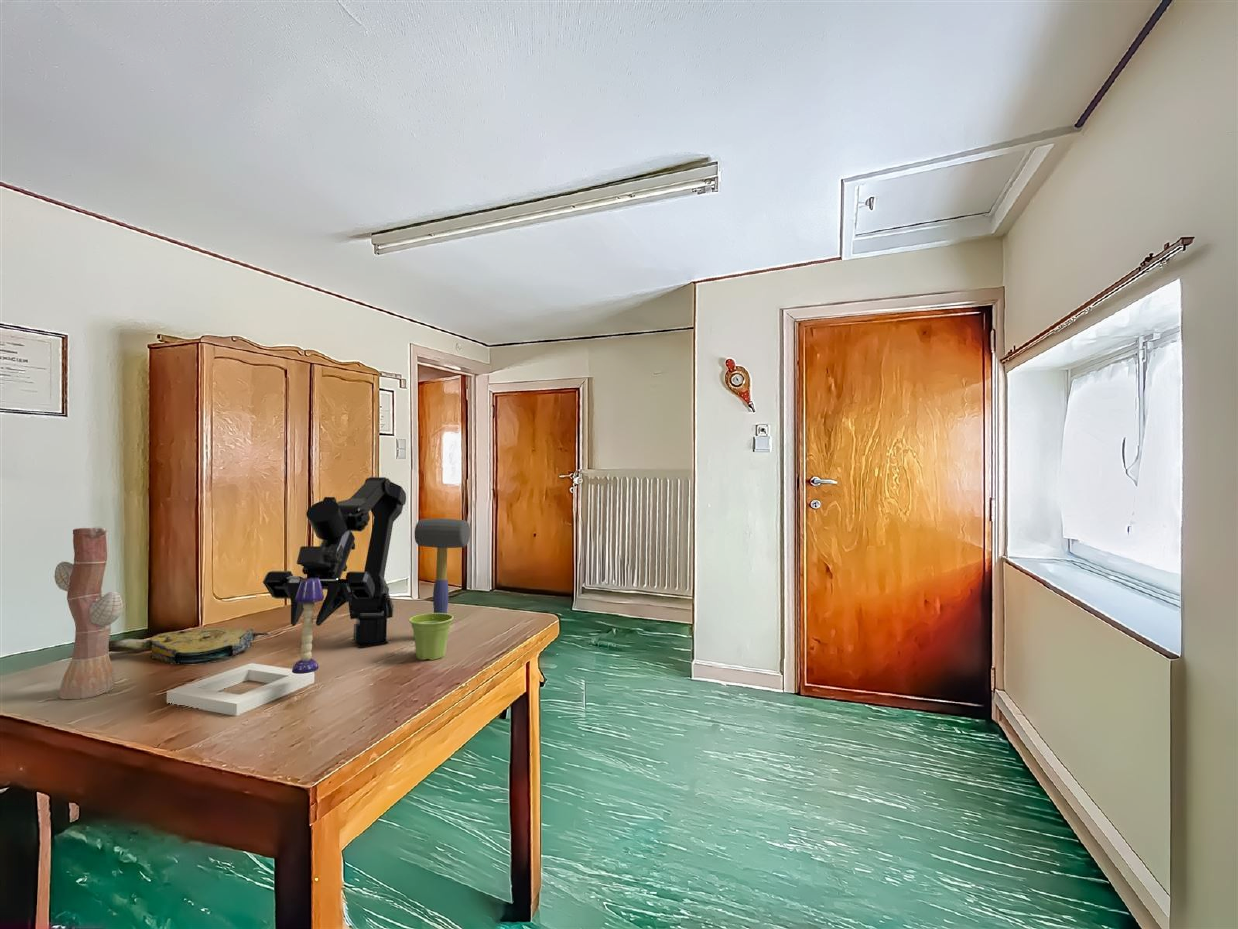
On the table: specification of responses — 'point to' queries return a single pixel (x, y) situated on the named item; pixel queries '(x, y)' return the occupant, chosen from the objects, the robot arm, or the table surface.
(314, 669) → the toy lamp
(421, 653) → the plant pot
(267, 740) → the table surface
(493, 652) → the table surface
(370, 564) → the robot arm
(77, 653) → the vase
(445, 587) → the rubber mallet
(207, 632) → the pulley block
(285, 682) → the cutout frame
